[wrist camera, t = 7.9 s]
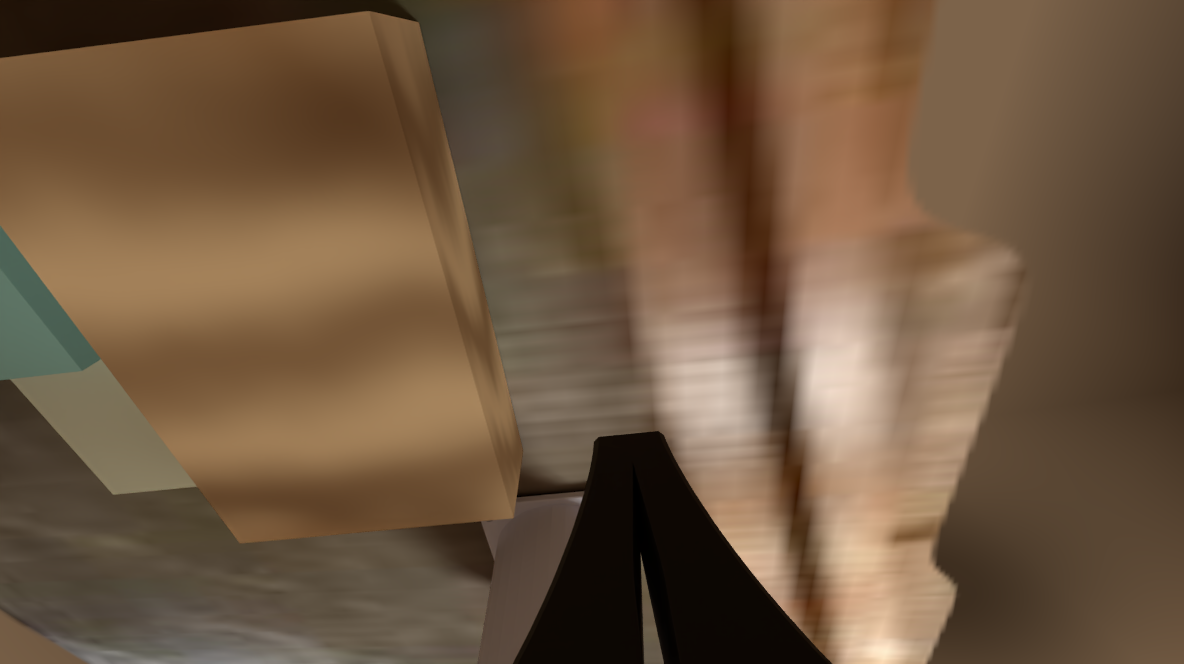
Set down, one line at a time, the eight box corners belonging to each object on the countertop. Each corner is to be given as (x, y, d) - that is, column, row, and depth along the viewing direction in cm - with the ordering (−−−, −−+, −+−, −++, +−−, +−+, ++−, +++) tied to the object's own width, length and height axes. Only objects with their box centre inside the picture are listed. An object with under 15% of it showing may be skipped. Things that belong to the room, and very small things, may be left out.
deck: (523, 450, 24) (513, 518, 20) (289, 473, 24) (240, 543, 20) (418, 22, 15) (368, 10, 11) (45, 69, 15) (-115, 73, 11)
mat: (279, 474, 24) (276, 478, 24) (118, 490, 24) (113, 494, 24) (31, 71, 15) (21, 71, 15) (-222, 103, 15) (-236, 104, 15)
